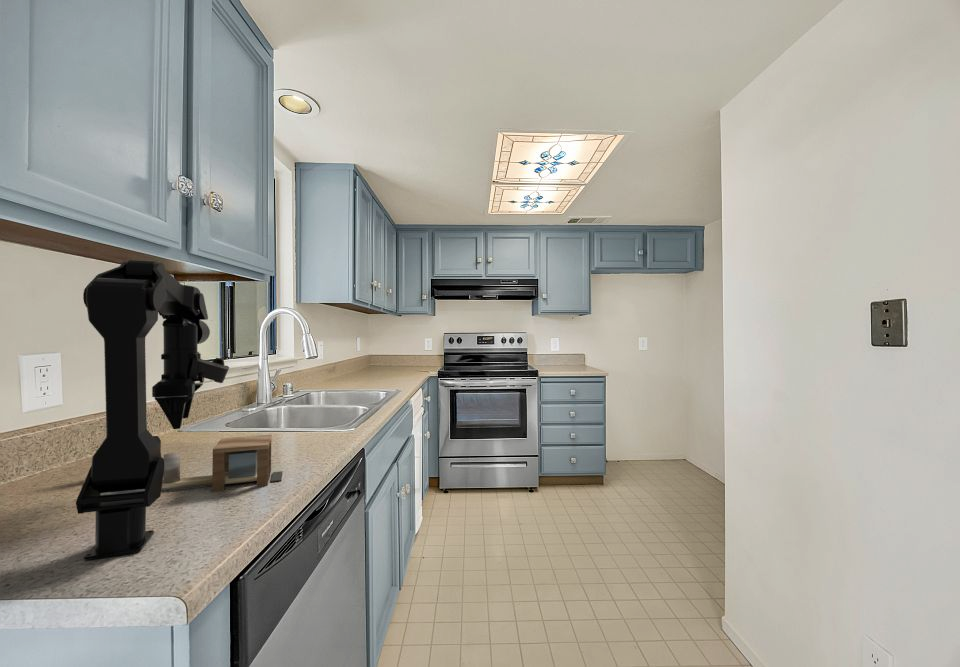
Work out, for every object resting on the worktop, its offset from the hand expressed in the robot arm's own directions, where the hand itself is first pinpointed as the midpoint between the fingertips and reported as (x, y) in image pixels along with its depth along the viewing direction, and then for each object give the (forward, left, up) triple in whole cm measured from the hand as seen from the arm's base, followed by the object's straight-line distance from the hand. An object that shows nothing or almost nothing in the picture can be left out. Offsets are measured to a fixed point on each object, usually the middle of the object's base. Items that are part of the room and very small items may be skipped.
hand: (181, 423), depth 88 cm
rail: (-1, -1, -13) cm, 13 cm away
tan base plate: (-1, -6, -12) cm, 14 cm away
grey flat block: (-1, -18, -13) cm, 22 cm away
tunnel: (-1, -12, -13) cm, 17 cm away
